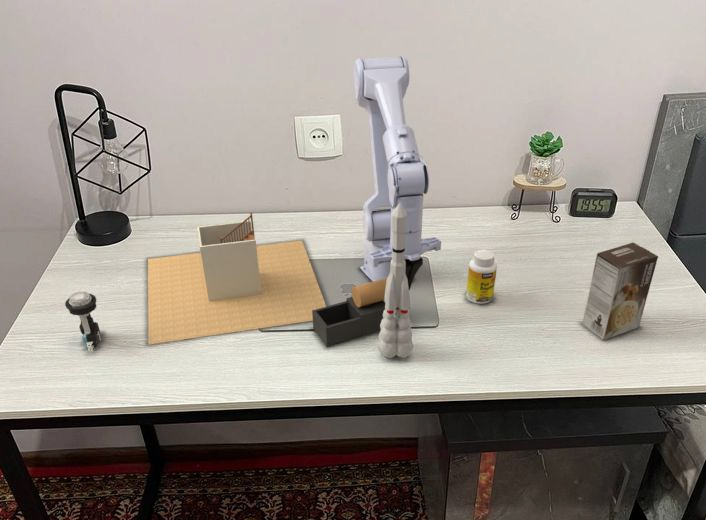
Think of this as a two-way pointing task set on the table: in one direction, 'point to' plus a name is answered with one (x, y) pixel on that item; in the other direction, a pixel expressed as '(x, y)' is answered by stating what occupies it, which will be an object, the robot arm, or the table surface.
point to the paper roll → (369, 293)
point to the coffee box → (619, 290)
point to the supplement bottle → (481, 277)
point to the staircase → (230, 286)
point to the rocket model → (397, 296)
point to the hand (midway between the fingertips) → (404, 289)
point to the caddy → (347, 321)
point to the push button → (85, 316)
